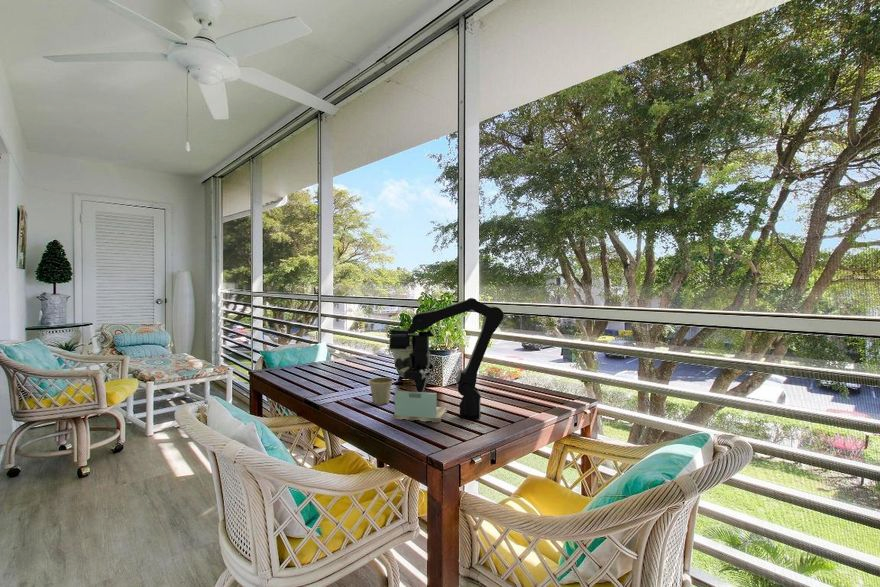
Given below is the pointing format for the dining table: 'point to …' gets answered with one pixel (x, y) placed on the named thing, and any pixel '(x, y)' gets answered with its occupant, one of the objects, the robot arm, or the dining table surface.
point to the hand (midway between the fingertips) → (420, 394)
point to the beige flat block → (440, 414)
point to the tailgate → (416, 404)
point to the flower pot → (380, 390)
